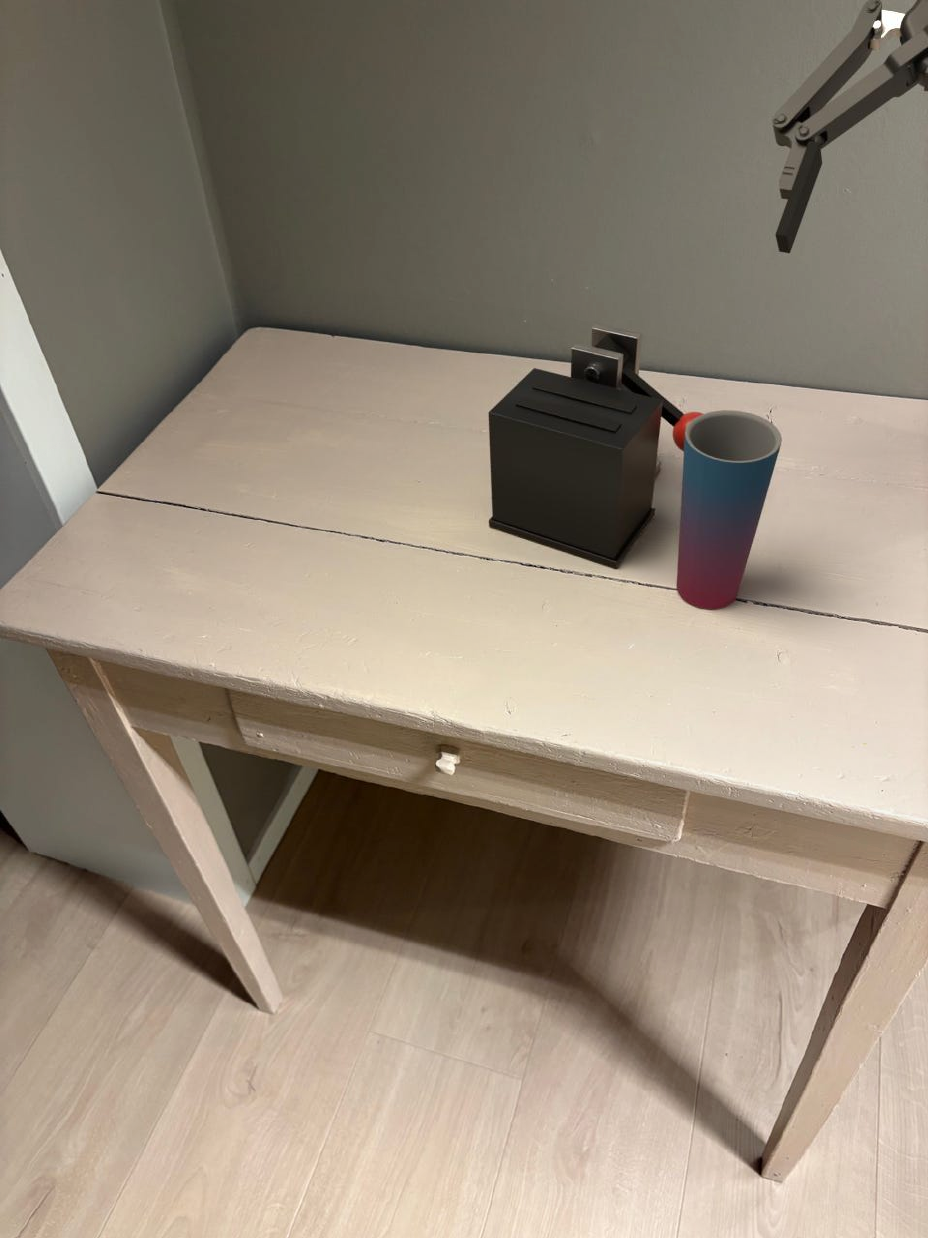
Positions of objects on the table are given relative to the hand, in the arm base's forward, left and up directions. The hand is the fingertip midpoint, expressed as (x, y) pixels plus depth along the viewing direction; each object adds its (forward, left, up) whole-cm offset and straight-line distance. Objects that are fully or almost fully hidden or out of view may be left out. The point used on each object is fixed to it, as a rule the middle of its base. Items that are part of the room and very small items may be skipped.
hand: (884, 261), depth 63 cm
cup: (+6, +7, -26) cm, 28 cm away
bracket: (+21, -4, -26) cm, 34 cm away
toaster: (+20, +4, -26) cm, 33 cm away
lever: (+18, -4, -18) cm, 26 cm away
